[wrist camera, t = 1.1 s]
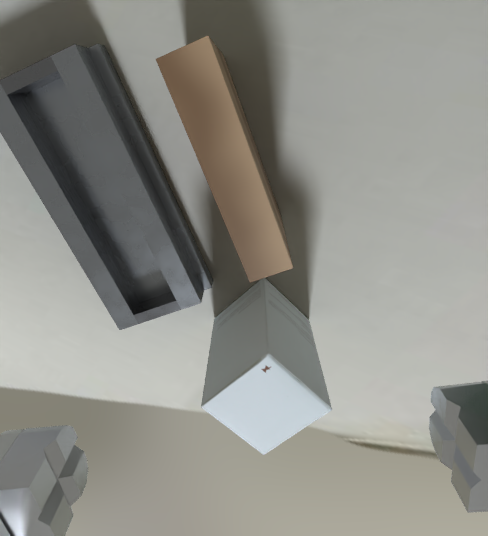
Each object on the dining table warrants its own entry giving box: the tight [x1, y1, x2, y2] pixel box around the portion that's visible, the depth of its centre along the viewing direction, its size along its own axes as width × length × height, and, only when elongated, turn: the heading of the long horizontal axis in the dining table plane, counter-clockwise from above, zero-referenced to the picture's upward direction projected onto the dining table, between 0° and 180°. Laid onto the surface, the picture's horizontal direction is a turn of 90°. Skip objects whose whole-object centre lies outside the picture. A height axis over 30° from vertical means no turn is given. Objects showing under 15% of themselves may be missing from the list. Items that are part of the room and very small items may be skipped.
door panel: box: [156, 36, 293, 283], centre depth 28 cm, size 3×14×12 cm, turn 21°
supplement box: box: [201, 278, 332, 455], centre depth 35 cm, size 7×7×13 cm
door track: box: [0, 44, 213, 330], centre depth 34 cm, size 10×22×4 cm, turn 21°
